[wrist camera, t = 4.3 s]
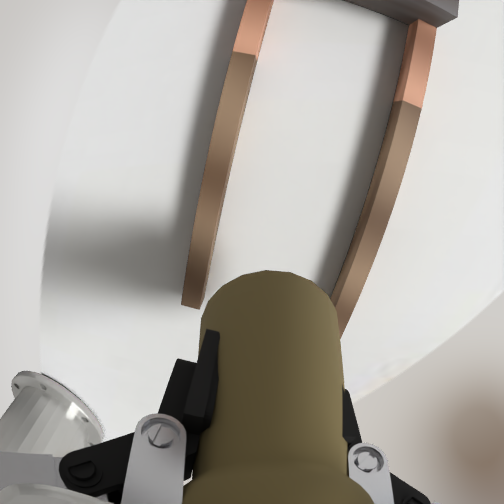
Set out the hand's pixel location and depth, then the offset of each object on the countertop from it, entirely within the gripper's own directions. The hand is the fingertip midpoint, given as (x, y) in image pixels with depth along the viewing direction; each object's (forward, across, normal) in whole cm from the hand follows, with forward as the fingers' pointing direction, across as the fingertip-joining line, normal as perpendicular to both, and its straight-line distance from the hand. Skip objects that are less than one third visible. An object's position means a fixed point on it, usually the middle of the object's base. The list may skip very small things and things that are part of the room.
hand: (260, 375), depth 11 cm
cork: (+3, 0, 0) cm, 3 cm away
